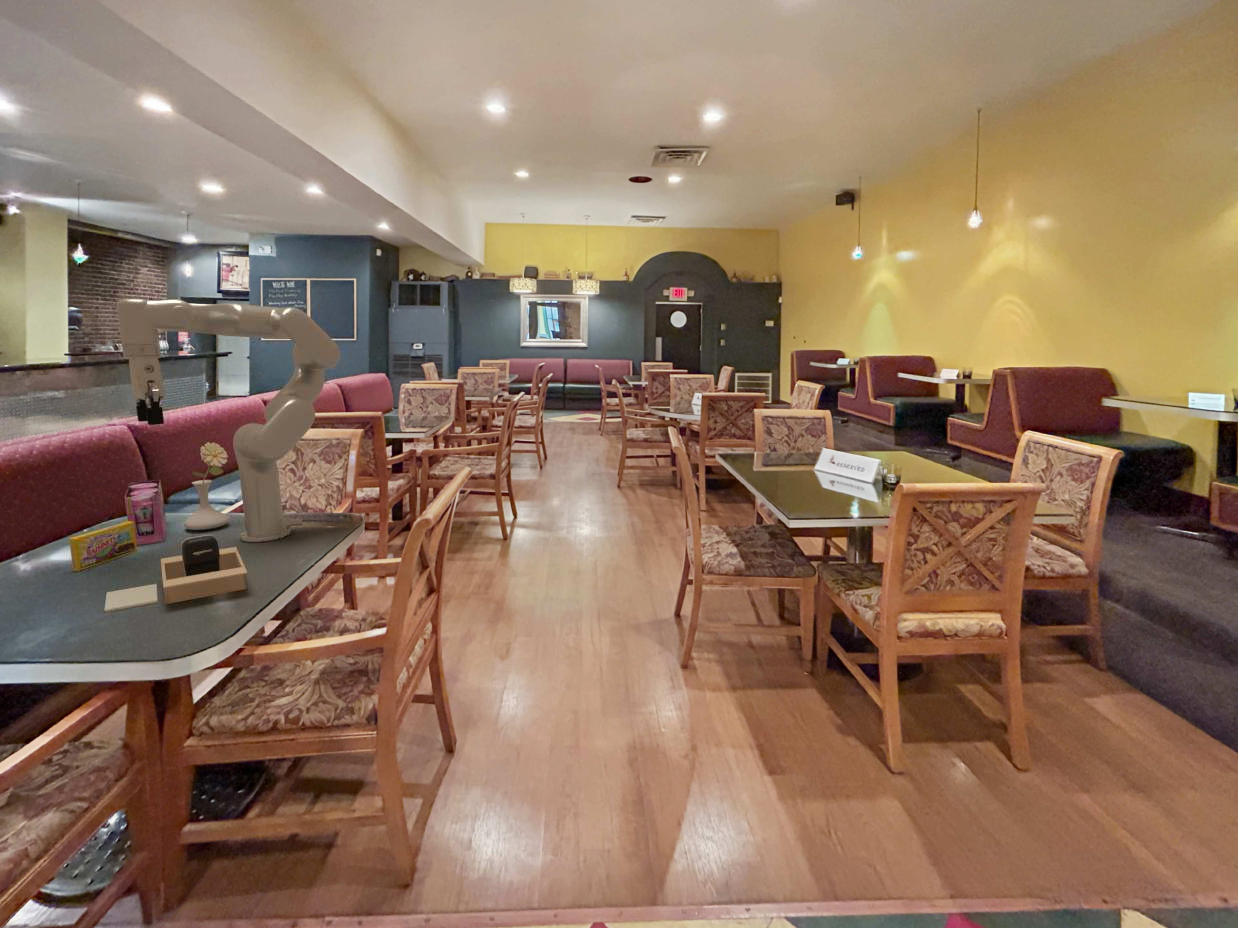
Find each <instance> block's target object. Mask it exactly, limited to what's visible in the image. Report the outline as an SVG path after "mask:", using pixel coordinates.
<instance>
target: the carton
mask: <svg viewBox="0 0 1238 928" xmlns="http://www.w3.org/2000/svg"><path fill="white" fill-rule="evenodd" d="M219 552H220V558H219V565H220V571H216V572H210V573H204V574H198V575H193V576H187V577H186V576H185V571H184V566H183V560H182V554H181V555H175V556H170V557H169V556H168V557H163V558H160V565H161V567H160V568H161V574H162V586H163V593H164V601H165V605H168V604H169V605H170V604H175V603H178V602H179V603H180V602H185V601H190V600H195V599H202V598H205V597H211V596H216V595H217V596H218V595H222V594H228V593H232V592H237V591H243V590H247V589H248V579H247V574H248V573H249V572H248V570H247V568H246V567H245V563H244V562H243V560H242V557H241V555H240V553H239V551H238V549H237V546H233V547H227V548H219Z"/></svg>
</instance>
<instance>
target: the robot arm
mask: <svg viewBox="0 0 1238 928" xmlns="http://www.w3.org/2000/svg"><path fill="white" fill-rule="evenodd" d="M116 311H117V319H118V324H119V325H118V326H119V334H120V340H121V349H122V356H123V359H128V363H129V374H130V375H129V376H130V383H131V389H132V394H133V396H134V398H135V405H136V406H135V409H136V416H137V421H138V422H140V423H142V422H147V425H150V426H153V425H154V426H156V425H163V424H164V423H165V420H164V419H165V418H164V412H163V411H164V410H163V405H162V402H161V399H165V397H166V390H165V386H164V380H163V373H162V370H161V369H162V368H161V365H160V360H159V358H160V359H161V358H162V351H161V345H160V336H159V330H160V331H165V332H177V333H178V332H179V333H194V334H195V333H196V334H209V335H218V336H225V337H238V338H258V339H269V340H270V339H271V340H290V341H291V342H292V343H293V344H294V347H293V349H292V358H293V364H294V373H293V374H292V377H291V378H290V380H288V381H287V383H286V384H285V385H284V386H283V387H282V388H281V390H279V391H278V392H277V394H275V395H274V397H273V398H271V399H270V400H269V402H268V403H267V404H266V405H265V407H264V411H263V416H264V419H265V420H266V422H265V424H262V423H261V424H260V423H258V422H257V423H256V422H255V423H254V422H252V423H251V422H250V423H246V424H244V425H242V426H240V427H239V428H238V429H237V430H236V431H235V433H234V434H233V435H234V436H233V439H232V446H233V452H234V455H235V459H236V462H237V466H238V472H239V479H240V480H239V481H240V482H239V483H240V490H241V498H242V499H241V500H242V508H243V516H244V524H245V525H244V527H245V531H243V532H241V533H240V535H239V537H240V538H239V539H240V540H241V541H243V542H248V543H260V542H262V541H263V542H270V541H274V540H275V541H276V540H279V538H280V539H282V538H285V536H286V537H287V535H288V536H289V535H290V534H291V527H297V526H303V520H302V518H290V519H286V518H285V516H284V514H283V513H284V512H283V504H282V494H281V484H280V483H281V482H280V473H279V468H278V464H277V461H280V460H281V459H282V458H284V457H285V456H286V455H288V453H290V451H292V449H293V448H294V447H295V446H296V445H297V444H298V443H299V441H300V440H301V439H302V438H303V437H304V436H305V435H306V434H307V433H308V432H309V430H310V429H311V427H312V426H313V424H314V423H315V418H316V409H315V407H314V406H315V405H313V404H314V402H315V401H316V400H317V399H318V397H319V396H320V395H321V393H322V391H323V388H324V385H325V370H329V369H332V368H334V367H336V365H338V363H339V361H340V359H341V352H340V348H339V346H338V345H337V343H336V342H335V341H334V339H332V338H331V336H329V335H328V333H326V331H324V330H323V329H322V328H321V327H320V326H319V325H318V324H317V323H316V321H314V319H312V318H311V317H310V316H309V315H308V314H307V313H306V312H304V311H303V310H302V309H300V308H297V307H293V306H292V307H291V306H290V307H289V306H287V307H277V306H263V305H255V304H254V305H252V304H251V305H250V304H243V303H233V302H232V303H215V304H213V303H209V304H206V303H189V302H187V301H185V300H182V299H177V298H172V299H171V298H170V299H160V300H149V299H141V298H124V299H123V298H122V299H120V300H118V301H117V303H116Z"/></svg>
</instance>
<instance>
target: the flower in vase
mask: <svg viewBox="0 0 1238 928" xmlns="http://www.w3.org/2000/svg"><path fill="white" fill-rule="evenodd" d="M199 451H200V453H199V454H200V456H201V458H200V459H201V460H202V461H203V462H204V463H206V465H207V466H208V468H207V470H206V473H200V472H196V471H193V470H192V474H193V475H194V476H196V477H201V478H203V479H202V480H195V481H192V482H191V484H192V485H193V486H194V487H195V488H196V491H197V494H198V499H199V506H198V508H197V509H196V511H194V512H193V513H192V514H191V515H190V516H189V517H188V518H187V519H186V520H185V521H184V523H183V526H184V528H186V529H187V530H193V531H202V530H203V531H206V530H212V529H216V528H220V527H222V526H224V525H226V524H228V523H229V521H230V518H229V517H228V516H227V515H226V514H225V513H222V511H219V510H217V509H215V508H214V507H212V506H211V504H210V501H209V488H210V486H211V484H212V481H213V480H212V479H206V478H207V476H208V473H210V474H211V475H213V476H218V475H219V476H220V475H221V474H223V473H224V470H223V469H221V468H222V466H223V465H225V464H226V463H227V462H228V459H227V458H229V455H228V453H227V451H226V450H225V449H224V447H222V446H221V445H220V444H219V443H215V442H212V443H211V442H209V441H208V442H207V443H205V444H204V446H203V445H202V446H201V447H200V450H199ZM211 466H212V467H211ZM210 467H211V468H210Z"/></svg>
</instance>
